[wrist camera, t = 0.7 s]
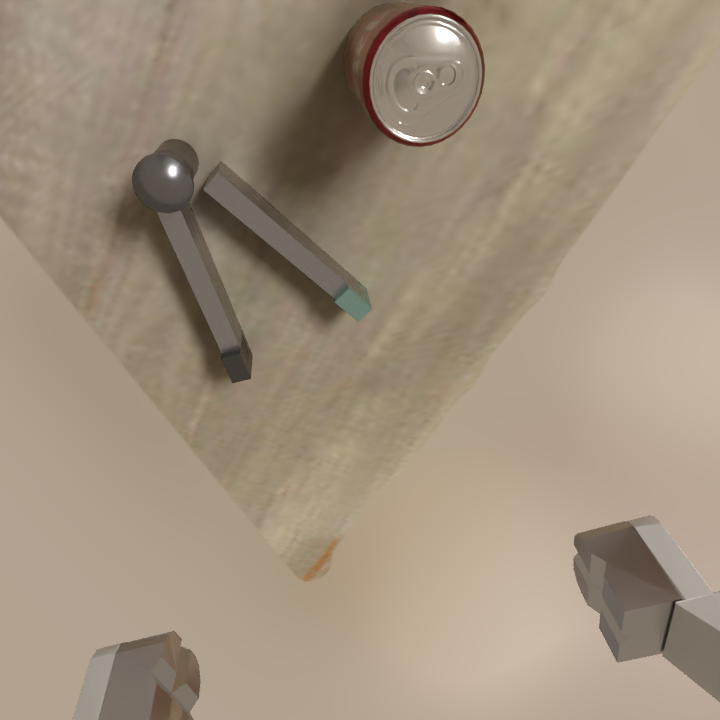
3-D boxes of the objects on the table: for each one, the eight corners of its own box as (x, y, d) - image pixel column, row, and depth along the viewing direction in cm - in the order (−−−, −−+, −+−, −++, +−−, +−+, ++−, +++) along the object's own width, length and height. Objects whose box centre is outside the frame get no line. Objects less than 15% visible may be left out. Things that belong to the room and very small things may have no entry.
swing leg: (207, 177, 43) (201, 193, 40) (221, 161, 42) (216, 175, 39) (353, 300, 51) (358, 321, 48) (366, 288, 50) (372, 308, 47)
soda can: (353, 122, 42) (375, 161, 32) (332, 15, 38) (351, 23, 28) (441, 100, 42) (491, 134, 32) (431, -9, 37) (485, -9, 28)
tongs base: (138, 141, 41) (117, 164, 35) (191, 128, 41) (178, 148, 35) (235, 359, 53) (230, 400, 48) (276, 349, 53) (275, 389, 48)
